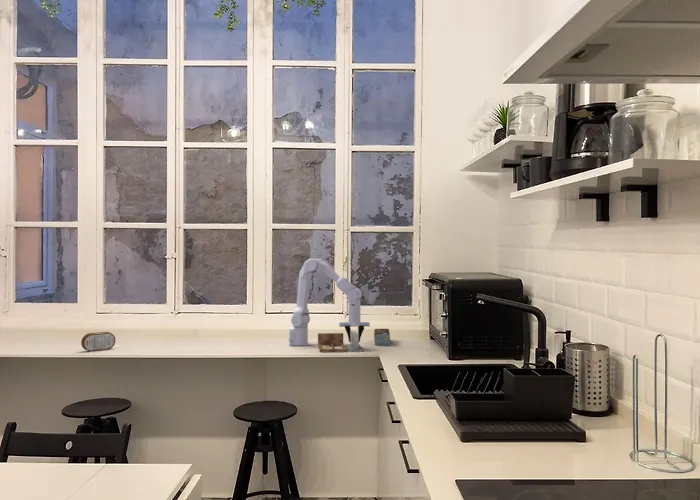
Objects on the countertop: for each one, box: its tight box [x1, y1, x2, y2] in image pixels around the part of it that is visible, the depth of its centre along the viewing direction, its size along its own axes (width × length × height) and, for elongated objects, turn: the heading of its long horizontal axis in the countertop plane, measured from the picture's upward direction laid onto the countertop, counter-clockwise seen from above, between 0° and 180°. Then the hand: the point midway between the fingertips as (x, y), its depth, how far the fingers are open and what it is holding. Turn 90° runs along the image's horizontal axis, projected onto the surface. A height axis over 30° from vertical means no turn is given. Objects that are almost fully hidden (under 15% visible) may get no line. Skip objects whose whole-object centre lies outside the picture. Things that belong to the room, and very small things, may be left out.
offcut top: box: [322, 345, 332, 349], centre depth 286 cm, size 4×13×1 cm, turn 7°
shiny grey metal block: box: [349, 330, 360, 350], centre depth 287 cm, size 3×11×7 cm, turn 6°
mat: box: [344, 343, 365, 353], centre depth 287 cm, size 7×18×1 cm, turn 6°
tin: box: [80, 331, 116, 352], centre depth 278 cm, size 15×3×8 cm, turn 132°
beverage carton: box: [373, 328, 391, 347], centre depth 304 cm, size 8×19×7 cm, turn 178°
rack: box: [317, 332, 348, 353], centre depth 286 cm, size 12×19×6 cm, turn 6°
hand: (354, 341), depth 287 cm, fingers open, 4 cm apart
